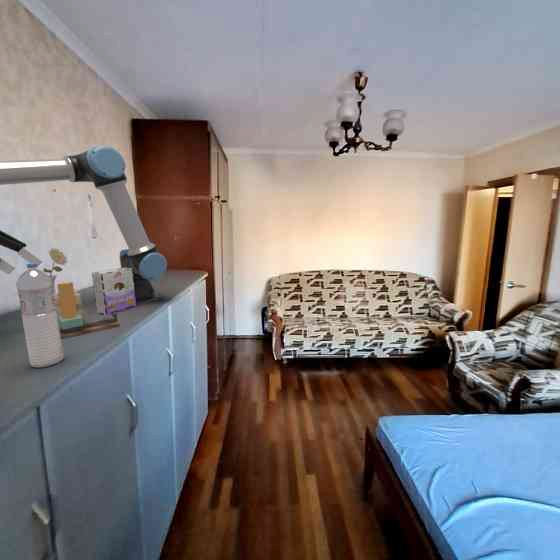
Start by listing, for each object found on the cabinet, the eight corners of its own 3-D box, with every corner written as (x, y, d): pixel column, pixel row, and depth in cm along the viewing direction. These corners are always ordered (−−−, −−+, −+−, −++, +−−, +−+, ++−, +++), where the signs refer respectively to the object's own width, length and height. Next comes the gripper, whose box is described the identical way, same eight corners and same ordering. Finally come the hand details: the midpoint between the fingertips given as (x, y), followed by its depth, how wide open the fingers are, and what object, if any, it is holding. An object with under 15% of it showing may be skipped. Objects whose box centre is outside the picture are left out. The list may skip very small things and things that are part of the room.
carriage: (79, 320, 101) (73, 280, 98) (83, 325, 95) (77, 283, 93) (59, 324, 97) (53, 282, 95) (62, 329, 92) (55, 285, 89)
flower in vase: (49, 313, 119) (39, 250, 114) (30, 311, 123) (19, 249, 118) (81, 305, 131) (73, 247, 126) (62, 303, 135) (54, 247, 130)
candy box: (127, 305, 131) (123, 267, 128) (137, 306, 128) (133, 267, 125) (96, 313, 118) (91, 271, 116) (106, 315, 116) (100, 272, 113)
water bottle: (58, 366, 74) (41, 264, 69) (24, 370, 72) (5, 266, 67) (68, 355, 80) (54, 261, 76) (38, 358, 78) (21, 262, 74)
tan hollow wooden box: (80, 317, 114) (76, 291, 112) (84, 321, 108) (80, 294, 106) (53, 321, 109) (49, 294, 107) (56, 327, 103) (52, 298, 101)
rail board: (114, 321, 108) (113, 310, 107) (119, 326, 103) (118, 315, 102) (51, 334, 96) (49, 322, 95) (54, 340, 91) (52, 327, 90)
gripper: (-19, 225, 97) (41, 270, 103) (-97, 226, 73) (-13, 284, 79) (-3, 208, 97) (56, 254, 103) (-75, 204, 73) (7, 263, 79)
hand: (26, 267), depth 91 cm, fingers open, 13 cm apart
